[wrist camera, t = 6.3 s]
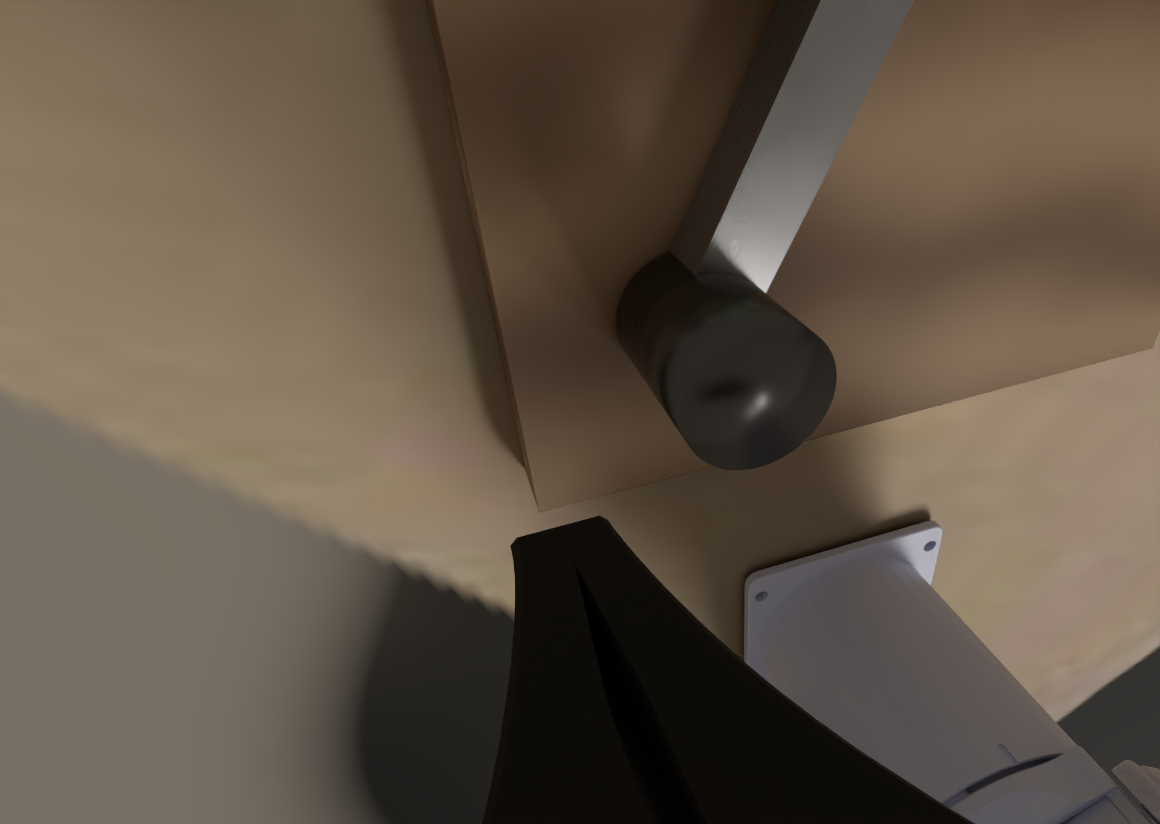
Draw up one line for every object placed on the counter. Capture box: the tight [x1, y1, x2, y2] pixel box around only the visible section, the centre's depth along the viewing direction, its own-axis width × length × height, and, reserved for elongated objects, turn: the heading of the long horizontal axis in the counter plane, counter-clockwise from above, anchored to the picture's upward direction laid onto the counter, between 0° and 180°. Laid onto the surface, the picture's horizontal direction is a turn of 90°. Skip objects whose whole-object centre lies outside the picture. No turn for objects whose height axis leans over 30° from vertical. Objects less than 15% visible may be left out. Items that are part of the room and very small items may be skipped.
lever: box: [616, 0, 914, 470], centre depth 12 cm, size 17×4×4 cm, turn 159°
